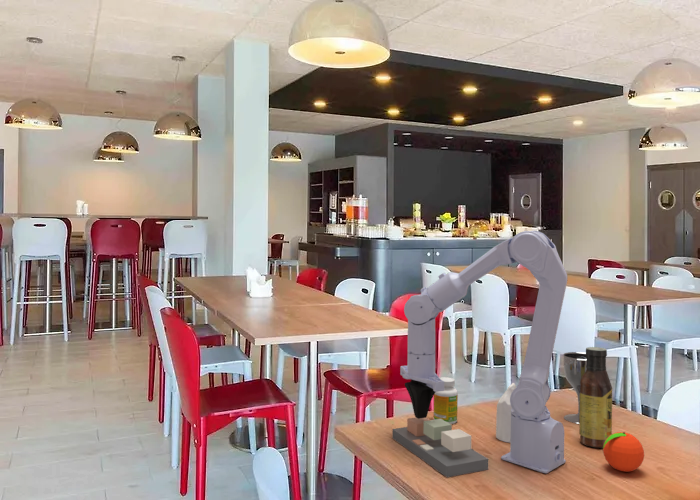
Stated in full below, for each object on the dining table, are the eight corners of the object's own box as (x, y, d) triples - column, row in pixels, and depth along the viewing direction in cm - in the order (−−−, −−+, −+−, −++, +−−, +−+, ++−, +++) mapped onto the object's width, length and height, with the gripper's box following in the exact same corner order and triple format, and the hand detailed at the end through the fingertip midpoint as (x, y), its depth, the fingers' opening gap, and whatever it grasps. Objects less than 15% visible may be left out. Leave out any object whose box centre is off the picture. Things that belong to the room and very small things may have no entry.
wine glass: (554, 416, 140) (555, 353, 139) (579, 412, 143) (580, 351, 143) (580, 426, 133) (582, 360, 132) (606, 422, 136) (607, 357, 135)
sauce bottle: (614, 450, 119) (617, 352, 118) (581, 448, 120) (584, 351, 119) (607, 439, 125) (609, 346, 124) (576, 436, 126) (578, 344, 125)
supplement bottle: (450, 426, 132) (450, 383, 132) (429, 421, 136) (429, 379, 135) (461, 420, 137) (461, 378, 136) (440, 415, 140) (441, 375, 139)
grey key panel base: (488, 469, 109) (488, 457, 109) (446, 477, 105) (447, 465, 105) (429, 432, 128) (429, 422, 128) (392, 438, 124) (392, 428, 124)
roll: (498, 377, 129) (524, 379, 127) (497, 431, 129) (523, 434, 127) (495, 384, 123) (523, 387, 121) (494, 441, 123) (522, 444, 122)
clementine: (615, 480, 104) (616, 441, 104) (589, 465, 111) (590, 428, 111) (652, 475, 107) (653, 437, 106) (624, 461, 113) (625, 424, 113)
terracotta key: (433, 434, 121) (433, 422, 121) (416, 436, 120) (417, 424, 120) (423, 427, 125) (423, 416, 125) (407, 430, 124) (407, 418, 123)
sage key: (451, 437, 115) (451, 424, 115) (434, 440, 114) (434, 427, 114) (440, 430, 119) (440, 418, 119) (423, 433, 118) (423, 421, 117)
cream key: (471, 449, 110) (471, 435, 109) (452, 452, 108) (453, 438, 108) (459, 441, 113) (459, 428, 113) (441, 444, 112) (441, 431, 111)
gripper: (388, 347, 127) (387, 409, 127) (422, 361, 114) (421, 430, 114) (416, 344, 130) (416, 405, 130) (453, 358, 116) (452, 426, 117)
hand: (420, 417), depth 122 cm, fingers closed
